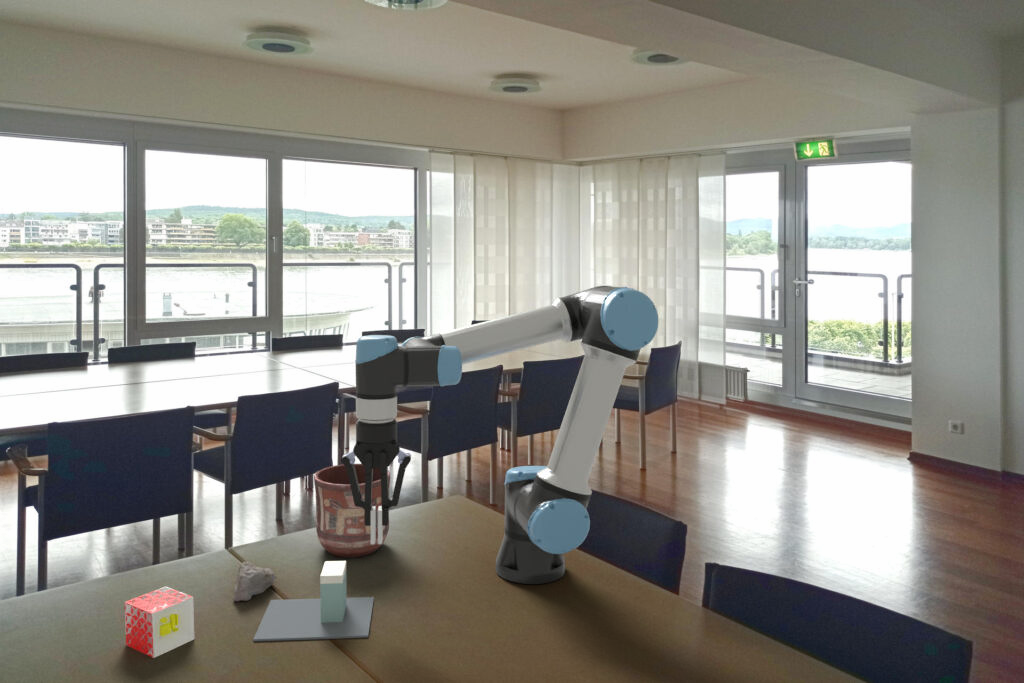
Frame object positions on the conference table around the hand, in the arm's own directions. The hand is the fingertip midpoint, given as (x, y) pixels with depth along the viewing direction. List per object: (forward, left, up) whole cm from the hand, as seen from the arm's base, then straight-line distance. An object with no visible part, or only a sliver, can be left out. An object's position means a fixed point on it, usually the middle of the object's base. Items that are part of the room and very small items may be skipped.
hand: (376, 541), depth 149 cm
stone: (+26, -12, -15) cm, 32 cm away
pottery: (+8, -35, -15) cm, 38 cm away
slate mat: (+11, +1, -14) cm, 18 cm away
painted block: (+8, 0, -14) cm, 16 cm away
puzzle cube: (+37, +8, -15) cm, 41 cm away
